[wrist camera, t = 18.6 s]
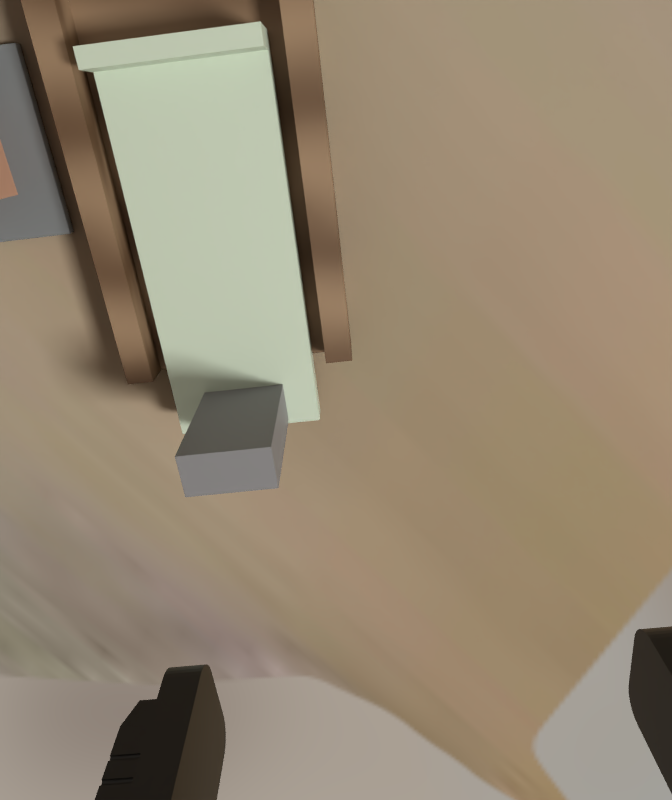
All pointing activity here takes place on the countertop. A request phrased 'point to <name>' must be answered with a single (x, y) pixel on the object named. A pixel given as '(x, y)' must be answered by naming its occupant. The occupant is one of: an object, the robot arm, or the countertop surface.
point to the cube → (6, 177)
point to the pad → (27, 158)
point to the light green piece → (213, 242)
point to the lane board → (99, 180)
